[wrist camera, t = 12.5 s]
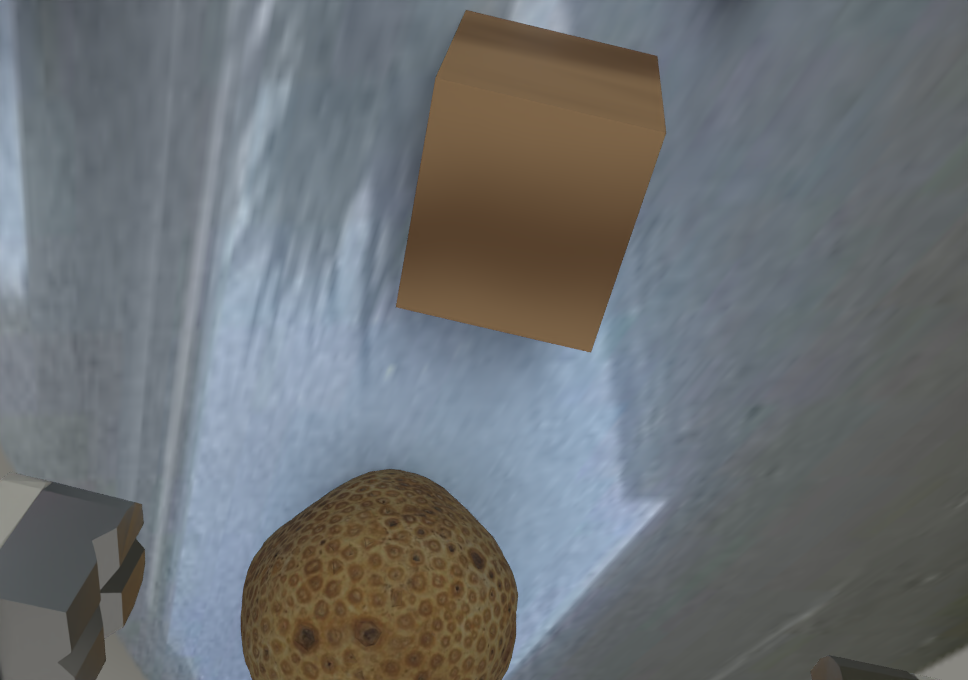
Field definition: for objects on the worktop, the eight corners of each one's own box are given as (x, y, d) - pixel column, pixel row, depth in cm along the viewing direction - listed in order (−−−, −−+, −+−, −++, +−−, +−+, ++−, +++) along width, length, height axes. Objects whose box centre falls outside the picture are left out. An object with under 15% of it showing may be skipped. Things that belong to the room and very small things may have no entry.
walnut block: (466, 8, 23) (435, 77, 19) (656, 55, 23) (666, 132, 19) (428, 213, 27) (396, 307, 23) (594, 251, 27) (590, 352, 23)
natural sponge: (585, 523, 33) (577, 790, 25) (411, 608, 37) (355, 862, 29) (416, 362, 30) (344, 612, 22) (244, 475, 34) (130, 721, 26)
